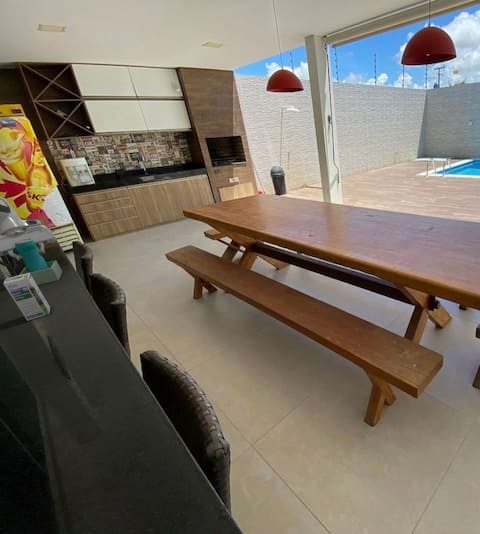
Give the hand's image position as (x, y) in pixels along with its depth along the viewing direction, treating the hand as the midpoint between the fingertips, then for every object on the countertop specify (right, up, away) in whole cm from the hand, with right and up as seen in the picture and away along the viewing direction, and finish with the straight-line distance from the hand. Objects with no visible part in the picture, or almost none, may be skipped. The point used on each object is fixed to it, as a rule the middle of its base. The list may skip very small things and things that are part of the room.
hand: (32, 256), depth 126 cm
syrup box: (+25, -21, -21) cm, 38 cm away
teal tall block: (0, -8, +4) cm, 9 cm away
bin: (0, -10, +5) cm, 11 cm away
